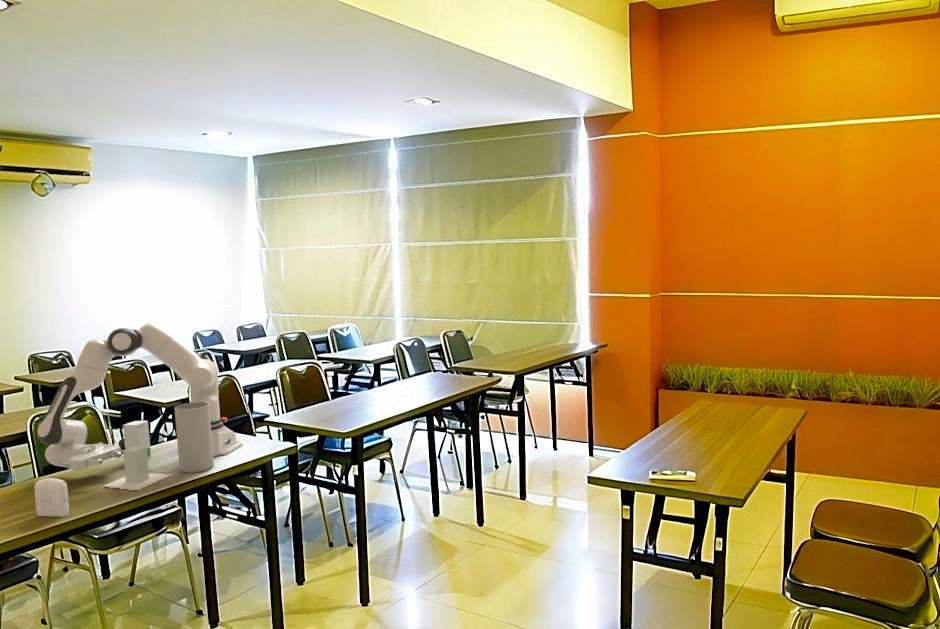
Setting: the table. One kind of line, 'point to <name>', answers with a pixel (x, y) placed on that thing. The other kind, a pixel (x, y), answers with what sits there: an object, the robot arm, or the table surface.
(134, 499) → the table surface
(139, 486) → the dock
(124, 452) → the light grey tall block
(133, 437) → the skincare box
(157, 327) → the robot arm
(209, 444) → the cylinder vase
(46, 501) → the photo printer
